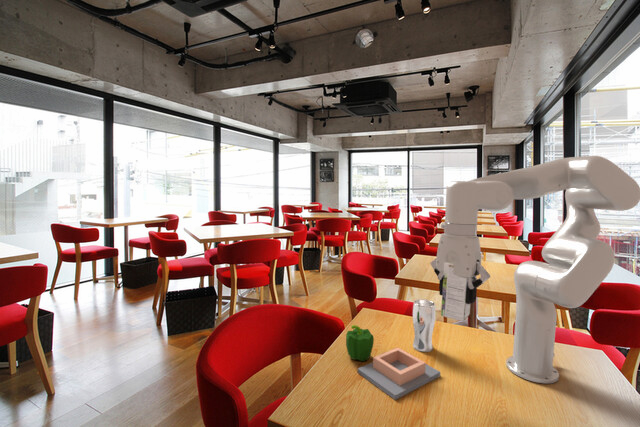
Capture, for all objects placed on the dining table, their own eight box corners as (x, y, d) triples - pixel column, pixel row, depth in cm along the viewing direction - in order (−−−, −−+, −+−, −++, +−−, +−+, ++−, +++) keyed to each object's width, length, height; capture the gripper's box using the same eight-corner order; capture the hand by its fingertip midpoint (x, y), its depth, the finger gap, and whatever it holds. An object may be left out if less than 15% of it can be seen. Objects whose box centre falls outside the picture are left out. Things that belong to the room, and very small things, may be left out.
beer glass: (435, 354, 102) (437, 307, 101) (412, 351, 104) (414, 305, 102) (432, 343, 109) (434, 299, 108) (410, 341, 110) (412, 298, 109)
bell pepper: (375, 353, 103) (376, 322, 102) (369, 366, 95) (370, 333, 94) (350, 348, 106) (350, 318, 105) (342, 360, 98) (342, 328, 97)
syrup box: (447, 309, 89) (450, 257, 88) (470, 315, 85) (474, 260, 84) (440, 316, 85) (443, 261, 83) (464, 322, 81) (467, 264, 80)
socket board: (401, 354, 102) (401, 341, 102) (440, 376, 91) (440, 361, 90) (357, 372, 92) (357, 358, 92) (395, 400, 81) (395, 383, 80)
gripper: (422, 227, 88) (419, 291, 90) (486, 236, 74) (481, 312, 75) (439, 225, 92) (436, 287, 94) (502, 233, 78) (498, 306, 80)
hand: (456, 297), depth 85 cm, fingers closed on syrup box, 6 cm apart
